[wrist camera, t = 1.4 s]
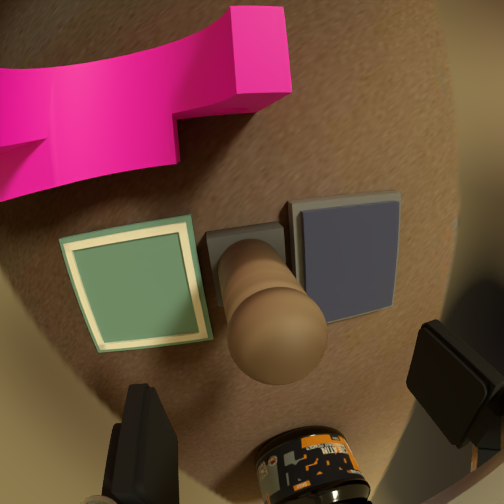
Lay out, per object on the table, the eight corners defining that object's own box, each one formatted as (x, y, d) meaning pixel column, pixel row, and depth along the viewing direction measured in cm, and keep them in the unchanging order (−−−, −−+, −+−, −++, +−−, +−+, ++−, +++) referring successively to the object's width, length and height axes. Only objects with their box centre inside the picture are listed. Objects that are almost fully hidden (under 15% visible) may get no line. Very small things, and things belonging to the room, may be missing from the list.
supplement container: (359, 428, 29) (402, 506, 18) (302, 474, 31) (328, 547, 20) (292, 412, 26) (333, 518, 15) (233, 464, 28) (251, 554, 17)
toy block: (33, 189, 16) (-36, 216, 9) (25, 100, 14) (-45, 89, 7) (258, 153, 18) (296, 157, 11) (251, 56, 16) (283, 6, 9)
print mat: (60, 238, 17) (57, 240, 17) (190, 214, 18) (190, 215, 18) (99, 350, 20) (97, 354, 20) (213, 337, 21) (213, 341, 21)
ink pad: (287, 200, 19) (294, 205, 17) (392, 190, 20) (405, 193, 18) (294, 322, 22) (300, 333, 21) (386, 300, 23) (396, 309, 22)
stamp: (206, 231, 19) (215, 327, 9) (277, 221, 19) (354, 300, 10) (216, 296, 20) (235, 418, 11) (281, 285, 21) (344, 393, 11)
